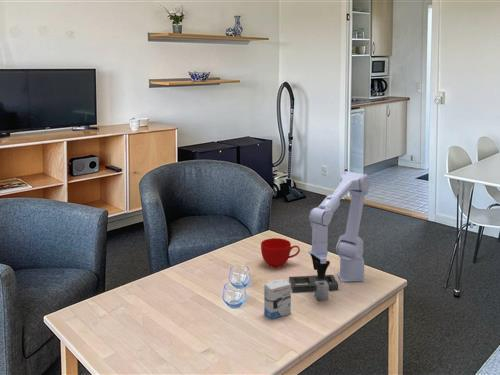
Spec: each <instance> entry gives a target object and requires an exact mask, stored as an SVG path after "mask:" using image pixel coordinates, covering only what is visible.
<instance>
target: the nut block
mask: <svg viewBox="0 0 500 375" xmlns="http://www.w3.org/2000/svg"><path fill="white" fill-rule="evenodd" d="M328 283H329V282H327V281H314V291H313V297H314V298H315V301H316V302H325V301H329V292H330V291H329V285H328Z"/></svg>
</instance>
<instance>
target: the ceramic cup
mask: <svg viewBox="0 0 500 375" xmlns="http://www.w3.org/2000/svg"><path fill="white" fill-rule="evenodd" d="M294 248H297V252H296V253H294V254H291V251H292V250H293V249H294ZM300 248H301V247H299V245H295V244H294V245H292V243H291V242H290V241H289V239H286V238H278V237H276V238H275V237H272V238H267V239H264V240H262V242H260V249H261V250H260V251H261V257H262V258H263V261H264V262H265V263H266V265H268V267H270V268H272V269H273V268H275V269H278V268H282V267H283V266H284V265H285V264H286V263H287V262H288V260H289V259H291V258H294V257H296V256H298V254H299V253H300V251H301V249H300Z"/></svg>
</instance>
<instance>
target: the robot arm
mask: <svg viewBox="0 0 500 375" xmlns="http://www.w3.org/2000/svg"><path fill="white" fill-rule="evenodd" d="M339 178H340V179H339V180H340V181H339V184H338V185H337V187H336V188H335V190H334V191H333V193H332V194H328V195H326V197H325V198H324V199H323V201H322V202H321V203H320V204H319V205H318V206H317V207H314V208H312V209H311V210H310V211H309V212H310V213H309V215H308V220H309V222H310V227H311V250H310V249H309V250H308V254H309V255H310V257H311V261H312V266H313V270H314V271H316V274H317V275H318V279H324V277H325V275H326V272H327V269H328V268H329V266H330V265H331V261H330V260H327V257H328V254H329V252H328V251H329V250H328V243H329V242H328V235H329V225H330V223H331V221H332V218H333V216H334V213H335V211H337V209H338V208H339V206H340V205H341V202H340V201H341V200H342V199H343V198H344V197H345V196H346V195H347V194H348V193H349V194H350V195H351V198H350V204H349V209H348V210H349V211H348V217H347V221H346V227H345V233H343V234H342V235H340V236H339V237H338V242H337V243H336V246H335V251H336V253H337V255H338V257H339V259H340V260H339V272H336V275H337V277H338V278H339V280H340V281H341V283H345V282H364V281H365V260H364V257H363V254H364V240H363V239H362V238H361V237H360V236H359V231H360V227H361V220H362V216H363V214H362V213H363V208H364V202H365V196H366V195H369V189H370V182H371V179H370V177H369V175H368V174H366V173H359V172H354V171H353V172H352V171H348V170H345V171H344V172H343V173H342V174H341V175H340V177H339Z"/></svg>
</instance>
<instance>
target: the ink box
mask: <svg viewBox="0 0 500 375" xmlns="http://www.w3.org/2000/svg"><path fill="white" fill-rule="evenodd" d="M263 291H264V292H263V294H264V295H263V297H264V299H263V300H264V302H263V303H264V304H263V305H264V308H263V310H264V311H263V312H264V313H263V314H264V315H265V316H267V317H268V319H270V320H274V319H278V318H280V317H283V316H287V315H289V314H291V313H292V312H291V311H292V309H291V304H292V289H291V284H290V283H289V280H286V279H285V278H281V279H277V280H274V281H269V282H266V283H265V284H264V287H263Z"/></svg>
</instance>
